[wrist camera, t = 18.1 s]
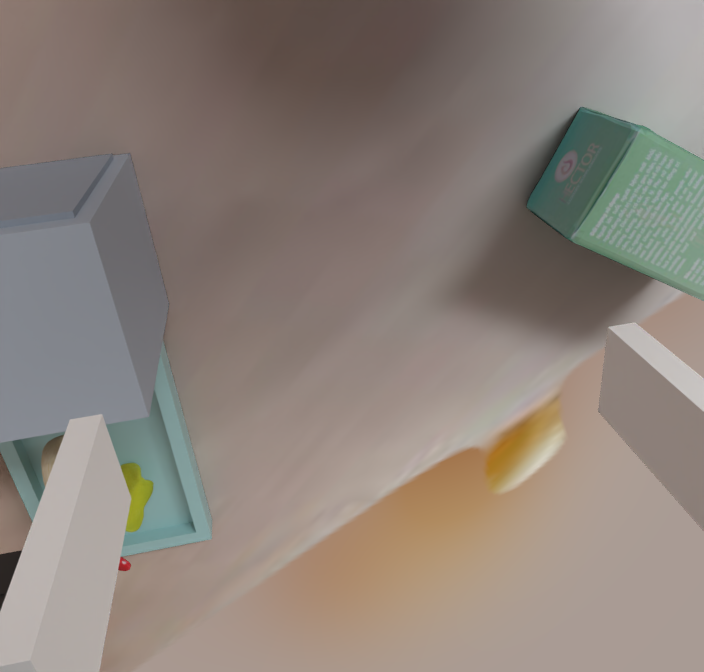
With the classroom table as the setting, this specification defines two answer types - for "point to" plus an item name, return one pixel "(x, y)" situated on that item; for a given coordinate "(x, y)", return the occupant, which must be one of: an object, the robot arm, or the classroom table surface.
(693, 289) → the box
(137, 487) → the bird rattle
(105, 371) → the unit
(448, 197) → the classroom table surface
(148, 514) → the tray
